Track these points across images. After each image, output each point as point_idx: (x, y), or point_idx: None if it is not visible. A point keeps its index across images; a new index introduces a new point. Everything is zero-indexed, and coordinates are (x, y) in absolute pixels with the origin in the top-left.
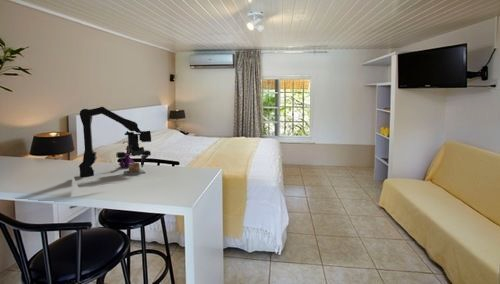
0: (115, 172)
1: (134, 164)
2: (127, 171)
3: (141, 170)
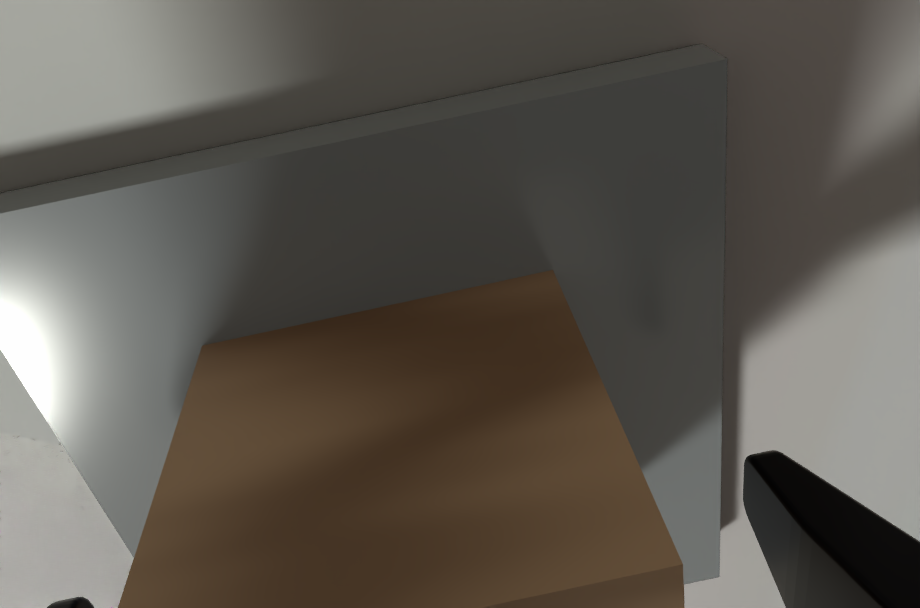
0: None
1: (418, 583)
2: None
3: None
